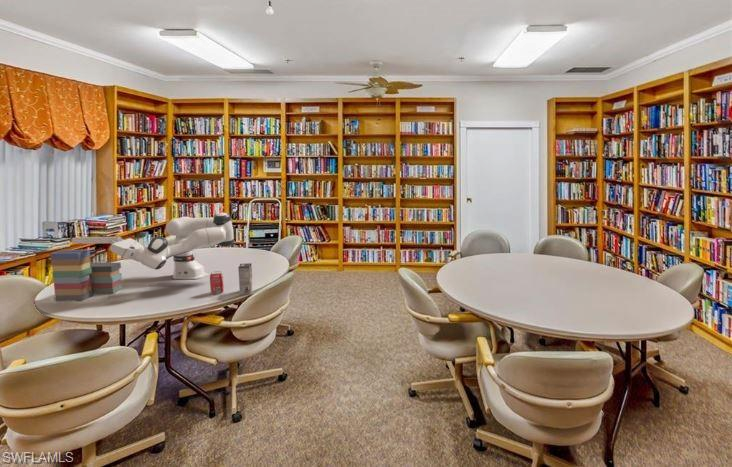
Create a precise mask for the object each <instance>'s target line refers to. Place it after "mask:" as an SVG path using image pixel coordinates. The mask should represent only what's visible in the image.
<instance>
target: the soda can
mask: <svg viewBox="0 0 732 467" xmlns="http://www.w3.org/2000/svg"><path fill="white" fill-rule="evenodd" d="M209 284H210V285H209V286H210V288H209V289H210V293H211V294H213V295H219V294H222V293H224V291H225V290H224V288H225V287H224V274H223V273H222V271H219V270H218V271H217V270H216V271H212V272H210V275H209Z"/></svg>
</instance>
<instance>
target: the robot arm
mask: <svg viewBox="0 0 732 467" xmlns="http://www.w3.org/2000/svg"><path fill="white" fill-rule="evenodd" d="M231 217H232V216H231V214H229V213H227V212H218V213H216V214H214V216H212V217H211V216H210V217H205V216H204V217H191V216H181V217H177V218H173V219H171V220H169V221H168V222H167V223H166V225H165V230H166V232H167V234H168V235H171V236H175V239H174V241H173V244H172V245H169V241H168V239H167V238H166V237H163V236H155V237H153V238H152V239H150V241H149V244H148V245H147V247H146V246H144V245H142V244H141V243H140V242H138V241H137V240H135V239H133V238H130V237H129V238H125V239H123V238H122V241H119V242H115V241H114V240H113V239H109V240H108V242H110V243H109V244H111V245H110V246H109V250H110V251H111V252H112V253H114V254H115V255H117V256H120V257H122V259H124V260H133V261H135V262H138V263H140V264H142V265H143V266H145V267H147V268H149V269H153V270H160V269H161V268H162V267H164V266H165V264H166V263H167V260H168V259H170V258H172V257H173V262H174V264H173V274H172V278H173V279H174V280H199V279H202V278H205V277H207V276H209V272H205V267H204V265H202V264H200V263H199V262H198V261H197V260H196V255H194V254H193V251H194V250H195V251H196V250H197V249H203V248H206V247H211V246H214V245H218V246H219V247H220V248H221V247H223V248H227V247H230V246H232V245H234V243H235V236H234V228H233V222H232V218H231Z"/></svg>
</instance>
